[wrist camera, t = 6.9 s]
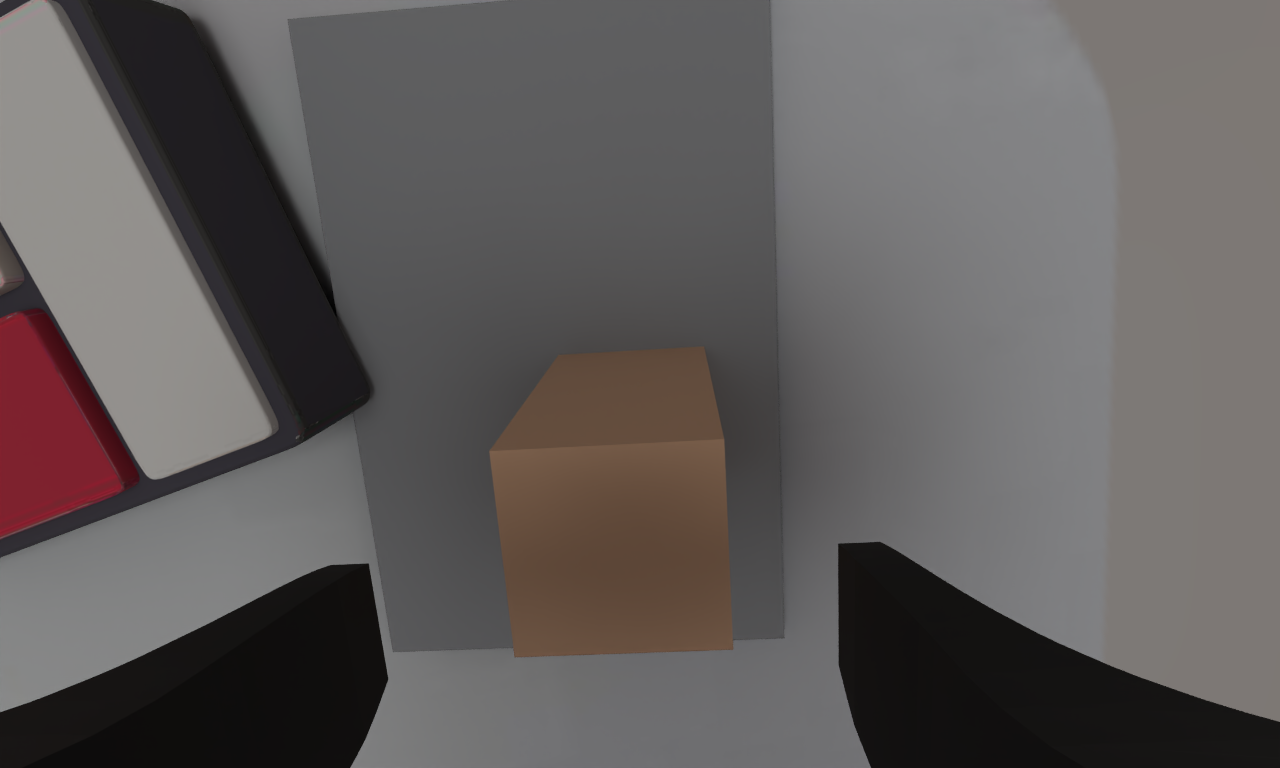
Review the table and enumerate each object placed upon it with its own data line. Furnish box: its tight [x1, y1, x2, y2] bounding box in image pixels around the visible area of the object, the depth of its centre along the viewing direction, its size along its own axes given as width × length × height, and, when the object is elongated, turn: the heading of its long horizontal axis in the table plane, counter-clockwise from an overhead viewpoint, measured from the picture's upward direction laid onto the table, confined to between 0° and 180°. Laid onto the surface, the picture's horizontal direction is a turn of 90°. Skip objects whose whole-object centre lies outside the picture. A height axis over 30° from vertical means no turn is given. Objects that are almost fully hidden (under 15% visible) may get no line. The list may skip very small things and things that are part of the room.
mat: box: [288, 0, 784, 652], centre depth 21 cm, size 18×12×1 cm, turn 4°
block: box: [489, 346, 733, 657], centre depth 17 cm, size 4×4×8 cm
